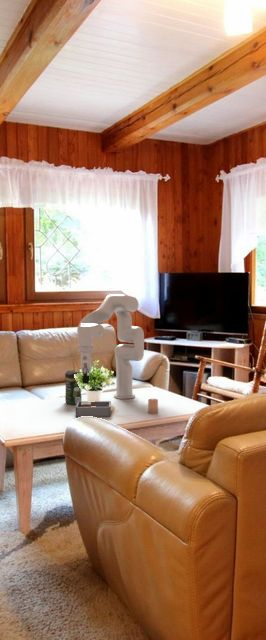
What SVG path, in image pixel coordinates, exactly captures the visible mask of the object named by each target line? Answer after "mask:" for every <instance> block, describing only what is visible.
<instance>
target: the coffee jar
mask: <svg viewBox="0 0 266 640" xmlns="http://www.w3.org/2000/svg"><path fill="white" fill-rule="evenodd" d="M77 373H80V372H78V371H76V370H72V369H71V370H67V371H66V372H65V374H64V375H65V377H64V378H65V380H64V381H65V403H67V404H68V405H70V406H72V405H74V406H76V405H77V403H78V401H82V388H81V389H80V388H79V386H78V384H77V382H76V380H75V378H74V374H77Z"/></svg>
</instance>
